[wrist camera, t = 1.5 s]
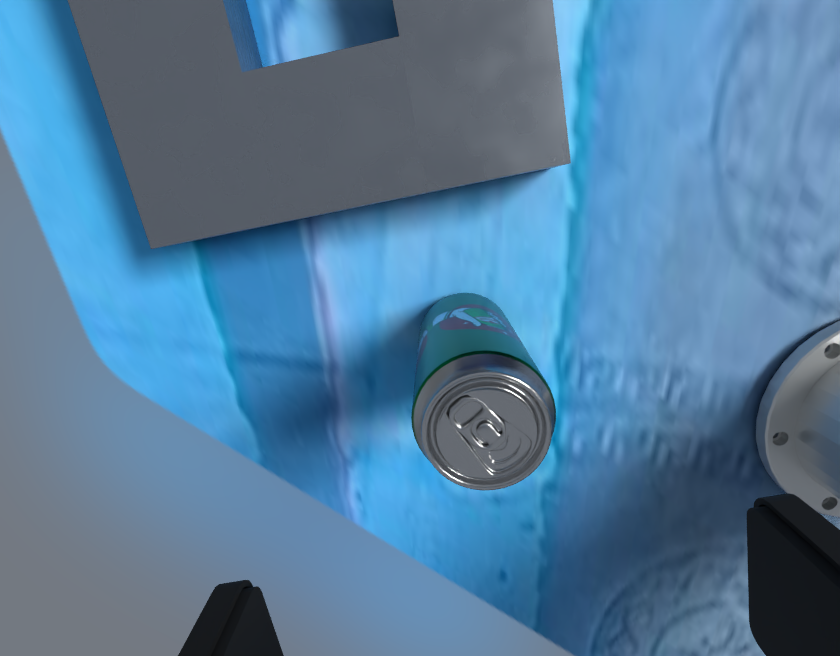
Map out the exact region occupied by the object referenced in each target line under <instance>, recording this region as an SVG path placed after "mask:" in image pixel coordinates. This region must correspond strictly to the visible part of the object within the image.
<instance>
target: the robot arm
mask: <svg viewBox="0 0 840 656" xmlns="http://www.w3.org/2000/svg"><path fill="white" fill-rule="evenodd" d="M756 441H757V447H758V452H759V456H760V458H761V460H762V463H763V465H764V467H765V469H766V471H767V473H768V474H769V475H770V476H771V478H772V479H773V480H774V482H775V483H776V484H777V485H778V486H779V487H780V488H782V489H783V490H784V491H785V492H786V493H787V494H782V495H776V496H769V497H763V498H758V499H756V501H755V502H754V508H750V509H748V511H747V546H748V587H749V622H750V628H751V631H752V634H753V636H754V638H755V640H756V642H757V644H758V645H759V647H760V648H761V650H762V651H763V652H764V654H765V655H766V656H840V530H839V529H838V528H836V527H835V526H834V525H833V524H831V523H830V522H829V521H828V520H826V519H825V518H824V517H823V516H822V515H820V514H819V513H821V514H824V515H829V516H835V517H840V321H838V322H836V323H834V324H832V325H830V326H828V327H827V328H825V329H823V330H821V331H819V332H817V333H816V334H815V335H813V336H812V337H811V338H809V339H808V340H807V341H805V342H804V343H803V344H801V345H800V346H799V347H798V348H797V349H796V350H795V351H794V352H793V353H792V354H791V355H790V356H789V357H788V358H787V359H786V360H785V361H784V362H783V363H782V365H781V366H780V367H779V369H778V370H777V372H776V373H775V375H774V376H773V378H772V379H771V380H770V382H769V384H768V387H767V389H766V391H765V393H764V395H763V397H762V400H761V403H760V407H759V411H758V415H757V419H756ZM818 512H819V513H818ZM178 656H284V655H283V653H282V650H281V647H280V644H279V641H278V638H277V635H276V632H275V629H274V627H273V623H272V620H271V617H270V615H269V612H268V609H267V606H266V603H265V600H264V597H263V594H262V591H261V590H260V588H259V587H253V586H252V584H251V582H250V581H249V580H243V581H237V582H230V583H224V584H219V585H218V586H216V587H215V589H214V590H213V592H212V594H211V596H210V597H209V599H208V601H207V603H206V605H205V607H204V608H203V610H202V612H201V614H200V616H199V618H198V620H197V622H196V623H195V625H194V627H193V629H192V631H191V633H190V635H189V637H188V638H187V640H186V642H185V644H184V646H183V648H182V649H181V651H180V653H179V655H178Z"/></svg>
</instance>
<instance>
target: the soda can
mask: <svg viewBox="0 0 840 656" xmlns="http://www.w3.org/2000/svg"><path fill="white" fill-rule="evenodd" d="M411 418H412V429H413V432H414V436H415V439H416V441H417V444H418V446H419V448H420V449H421V451H422V452H423V454H424V455H425V457H426V458H427V459H428V460H429V461H430V462H431V463H432V464H433V466H434V467H435V468H436V469H437V470H438V471H439V473H441V474H442V475H443V476H444V477H446V478H447V479H448V480H450V481H452V482H454V483H455V484H458V485H460V486H463V487H466V488H470V489H476V490H495V489H501V488H505V487H508V486H511V485H514V484H516V483H518V482H520V481H522V480H523V479H524V478H526V477H527V476H529V475H530V474H531V473H532V472H533V471H534V470H535V469H536V468H537V467H538V466H539V465H540V463H541V462H542V461H543V459H544V457H545V455H546V454H547V451H548V449H549V446H550V442H551V437H552V435H553V432H554V427H555V422H556V409H555V403H554V398H553V396H552V393H551V390H550V388H549V386H548V385H547V383H546V381H545V379H544V378H543V376H542V374H541V373H540V371H539V370H538V368H537V366H536V365H535V363H534V362H533V360H532V358H531V357H530V355H529V353H528V352H527V350H526V349H525V347H524V345H523V344H522V342H521V341H520V339H519V337H518V336H517V334H516V332H515V331H514V329H513V328H512V326H511V324H510V323H509V321H508V319H507V318H506V316H505V315H504V313H503V312H502V310H501V309H500V308H499V307H498V306H497V305H496V304H495V303H494V302H492V301H491V300H489V299H488V298H486V297H483V296H481V295H477V294H473V293H458V294H454V295H450V296H448V297H445V298H443V299H442V300H440V301H438V302H437V303H436V304H435V305H433V306H432V307H431V308H430V310H429V311H428V312H427V314H426V315H425V317H424V319H423V321H422V323H421V327H420V333H419V343H418V354H417V364H416V375H415V385H414V395H413V406H412V417H411Z"/></svg>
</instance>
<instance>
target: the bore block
mask: <svg viewBox="0 0 840 656" xmlns="http://www.w3.org/2000/svg"><path fill="white" fill-rule="evenodd" d="M68 3H69V6H70V9H71V12H72V15H73V18H74V21H75V24H76V27H77V30H78V33H79V36H80V39H81V42H82V45H83V48H84V51H85V53H86V56H87V59H88V62H89V65H90V68H91V71H92V74H93V77H94V80H95V83H96V86H97V89H98V92H99V95H100V98H101V101H102V104H103V107H104V110H105V113H106V116H107V119H108V122H109V125H110V128H111V131H112V134H113V137H114V140H115V143H116V146H117V149H118V152H119V155H120V158H121V161H122V164H123V167H124V170H125V173H126V176H127V179H128V182H129V185H130V188H131V191H132V194H133V197H134V200H135V203H136V206H137V209H138V212H139V214H140V217H141V220H142V223H143V226H144V229H145V232H146V235H147V238H148V241H149V244H150V247H151V249H154V248H159V247H165V246H170V245H176V244H181V243H187V242H192V241H197V240H202V239H207V238H211V237H216V236H221V235H226V234H231V233H236V232H241V231H246V230H251V229H255V228H260V227H265V226H270V225H275V224H280V223H285V222H290V221H295V220H299V219H304V218H309V217H314V216H319V215H324V214H329V213H334V212H339V211H343V210H348V209H353V208H358V207H363V206H368V205H373V204H378V203H383V202H387V201H392V200H397V199H402V198H407V197H412V196H417V195H422V194H427V193H431V192H436V191H441V190H446V189H451V188H456V187H461V186H466V185H471V184H476V183H480V182H485V181H490V180H495V179H500V178H505V177H510V176H515V175H520V174H524V173H529V172H534V171H539V170H544V169H549V168H553V167H557V166H561V165H565V164H569V163H571V162H570V153H569V144H568V135H567V126H566V117H565V108H564V99H563V90H562V81H561V72H560V63H559V54H558V45H557V36H556V27H555V19H554V10H553V1H552V0H393V5H394V11H395V16H396V22H397V27H398V32H399V36H398V37H394V38H389V39H385V40H381V41H376V42H372V43H368V44H363V45H359V46H355V47H350V48H346V49H341V50H337V51H333V52H328V53H324V54H320V55H315V56H311V57H307V58H302V59H298V60H294V61H289V62H285V63H281V64H276V65H272V66H268V67H262V63H261V59H260V55H259V51H258V47H257V43H256V39H255V35H254V31H253V28H252V24H251V20H250V16H249V12H248V8H247V4H246V0H68Z"/></svg>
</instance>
